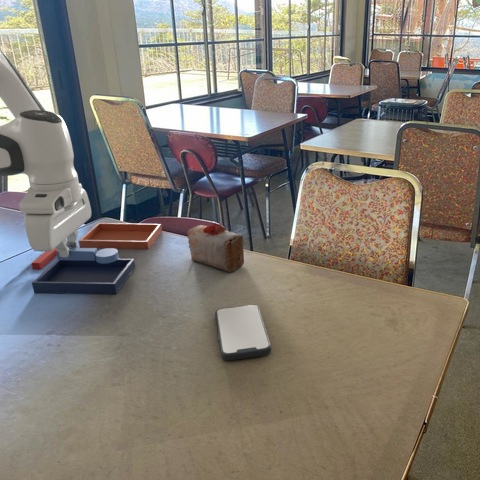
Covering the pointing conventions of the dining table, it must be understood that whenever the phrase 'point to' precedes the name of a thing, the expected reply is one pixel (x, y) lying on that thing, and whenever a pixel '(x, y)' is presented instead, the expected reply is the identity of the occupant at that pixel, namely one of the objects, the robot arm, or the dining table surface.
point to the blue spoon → (92, 255)
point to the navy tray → (84, 277)
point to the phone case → (241, 332)
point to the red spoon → (44, 259)
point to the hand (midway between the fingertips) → (69, 252)
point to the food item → (216, 247)
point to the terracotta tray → (121, 236)
